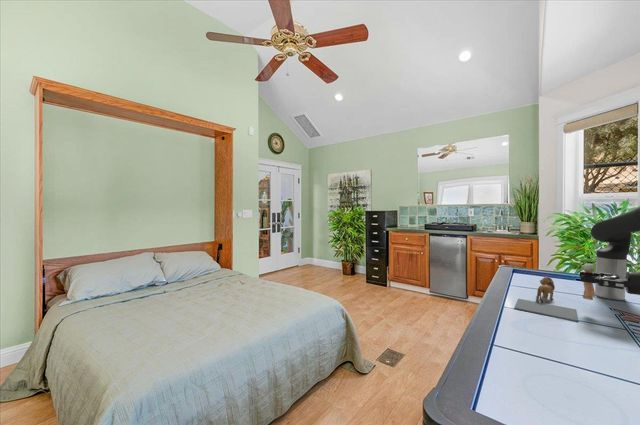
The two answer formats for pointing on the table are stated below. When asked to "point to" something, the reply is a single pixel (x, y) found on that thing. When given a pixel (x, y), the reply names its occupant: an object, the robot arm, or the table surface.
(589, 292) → the grandmother figurine
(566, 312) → the mat
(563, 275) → the table surface
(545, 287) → the lion figurine
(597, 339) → the table surface
